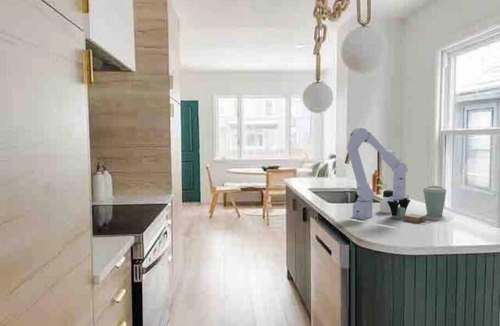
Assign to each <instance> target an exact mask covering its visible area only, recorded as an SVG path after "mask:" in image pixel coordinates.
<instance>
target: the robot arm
mask: <svg viewBox="0 0 500 326" xmlns="http://www.w3.org/2000/svg"><path fill="white" fill-rule="evenodd" d="M363 143H367V144H370V146H371V147H373V148H374V150H376V151H377V152H378V153H379V154H380V155H381V159H382V161H383V162H384V163H385V164H386V165H388V167H389V168H390V169H391V171H392V172H393V177H392V191H393V196H391V197H389V201H387V203H388V204H389V206H390V209H391V213H390V214H391V216H397V210H398V207H404V208H406V209H405V214H406V213H407V208H408V206H409V204H410V202H411V199H410V195H409V194H407V193H406V190H407V189H406V188H407V187H406V182H407V181H406V180H407V178H406V176H407V175H406V174H407V173H408V171H409V168H408V166H407V164H405V162H402V158H399V157H398V156H397V155H396V152H395V151H393V150H391V149H388V150H387V148H386V147H384V145H383V144H382V143H381V142H380V141H379V140H378V139H377V138H376V136H374V135H373V134H372V133H371V132H369V130H368V129H366V128H365V127H357V128H354V129H353V130H352V132H351V133H350V134H349V138H348V141H347V145H346V150H347V153H348V158H349V160H350V164H351V167H352V170H353V173H354V178H355V181H356V195H357V196H358V197H357V198H356V201H354V203H353V205H352V219H354V220H355V219H357V220H359V221H360V220H362V221H366V220H365V219H370V218H373V198H374V195H375V193H374V190H373V189H372V188H371V186H370V184H369V182H368V180H367V177H366V173H365V169H364V165H363V163H362V159H361V156H360V155H361V154H360V151H359V149H360V146H361V145H362V144H363ZM397 200H398V202H397Z"/></svg>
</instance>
